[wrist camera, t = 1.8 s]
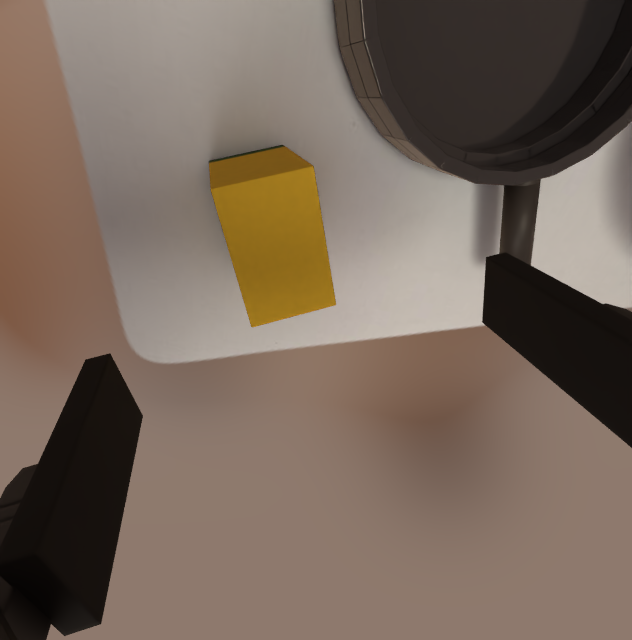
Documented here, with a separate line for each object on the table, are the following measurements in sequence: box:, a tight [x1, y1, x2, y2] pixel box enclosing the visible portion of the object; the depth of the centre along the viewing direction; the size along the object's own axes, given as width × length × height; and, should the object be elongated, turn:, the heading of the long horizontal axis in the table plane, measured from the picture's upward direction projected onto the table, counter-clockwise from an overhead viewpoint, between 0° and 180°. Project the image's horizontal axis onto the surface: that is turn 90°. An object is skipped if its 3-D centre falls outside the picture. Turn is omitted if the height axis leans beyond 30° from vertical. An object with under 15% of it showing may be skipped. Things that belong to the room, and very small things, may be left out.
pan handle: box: [499, 179, 541, 265], centre depth 27 cm, size 8×2×2 cm, turn 10°
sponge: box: [209, 145, 336, 327], centre depth 23 cm, size 7×4×8 cm, turn 10°
